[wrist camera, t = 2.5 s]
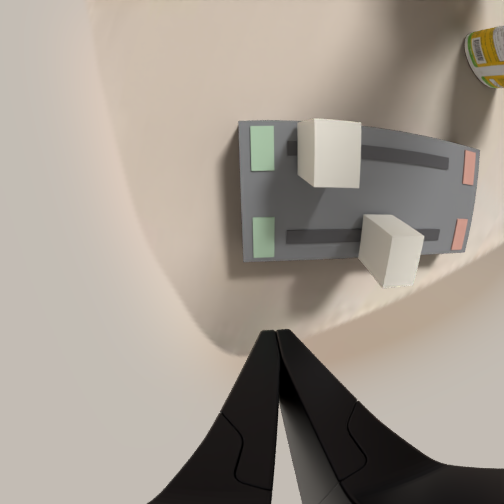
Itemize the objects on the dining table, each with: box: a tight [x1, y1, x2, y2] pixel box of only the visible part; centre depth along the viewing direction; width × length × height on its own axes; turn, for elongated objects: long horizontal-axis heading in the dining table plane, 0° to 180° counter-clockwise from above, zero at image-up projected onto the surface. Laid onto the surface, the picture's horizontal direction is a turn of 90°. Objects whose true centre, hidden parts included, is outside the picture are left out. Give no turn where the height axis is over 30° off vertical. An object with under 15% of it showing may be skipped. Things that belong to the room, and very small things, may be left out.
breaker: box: [297, 118, 361, 188], centre depth 12 cm, size 2×3×4 cm
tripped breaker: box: [358, 214, 424, 288], centre depth 14 cm, size 2×3×4 cm
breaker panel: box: [238, 120, 480, 262], centre depth 16 cm, size 17×8×3 cm, turn 91°
